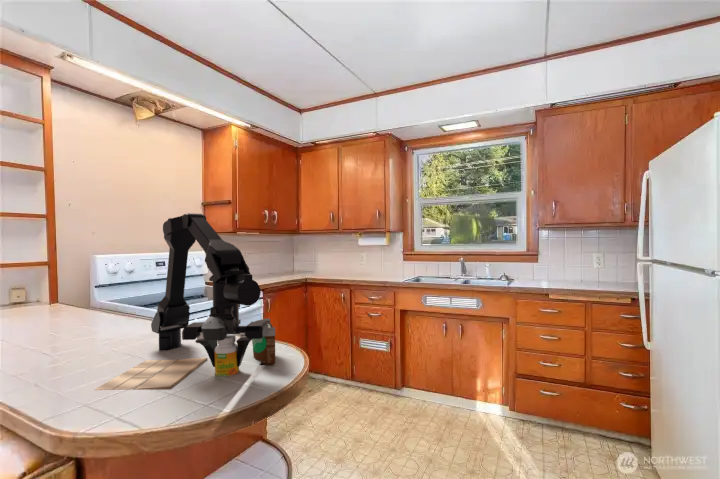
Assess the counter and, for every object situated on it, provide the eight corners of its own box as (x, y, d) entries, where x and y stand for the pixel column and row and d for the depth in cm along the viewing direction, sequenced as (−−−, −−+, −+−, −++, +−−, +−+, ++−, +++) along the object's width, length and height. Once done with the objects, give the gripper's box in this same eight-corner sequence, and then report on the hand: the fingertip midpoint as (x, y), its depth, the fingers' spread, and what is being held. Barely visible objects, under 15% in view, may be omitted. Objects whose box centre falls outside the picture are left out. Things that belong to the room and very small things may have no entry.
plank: (177, 364, 93) (177, 359, 93) (207, 362, 93) (207, 357, 93) (133, 394, 75) (132, 388, 75) (170, 391, 75) (170, 385, 75)
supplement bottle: (213, 382, 81) (212, 340, 81) (216, 374, 86) (215, 334, 86) (238, 379, 82) (237, 338, 82) (239, 371, 88) (239, 332, 87)
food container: (248, 355, 100) (247, 319, 100) (270, 352, 102) (269, 317, 102) (250, 370, 88) (250, 330, 88) (276, 366, 90) (275, 327, 90)
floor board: (145, 364, 93) (145, 360, 93) (176, 364, 93) (175, 359, 93) (94, 395, 75) (94, 389, 75) (131, 394, 75) (131, 388, 75)
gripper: (168, 308, 76) (169, 380, 76) (254, 307, 76) (255, 379, 76) (192, 299, 87) (194, 362, 87) (268, 298, 87) (269, 361, 87)
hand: (227, 366), depth 84 cm, fingers closed on supplement bottle, 5 cm apart
